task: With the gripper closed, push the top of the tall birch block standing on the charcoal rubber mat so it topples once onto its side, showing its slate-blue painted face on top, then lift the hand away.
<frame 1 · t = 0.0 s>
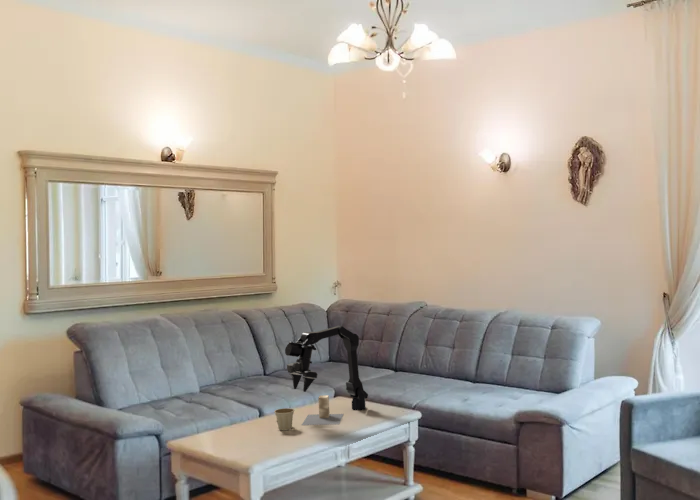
hand: (299, 390, 337), 15 cm above the table, tool pointing down, fingers open, 9 cm apart
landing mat: (323, 420, 339), on the table
flower pot: (285, 429, 326), on the table
birch block: (324, 416, 344), point 1 cm above the table, touching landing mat
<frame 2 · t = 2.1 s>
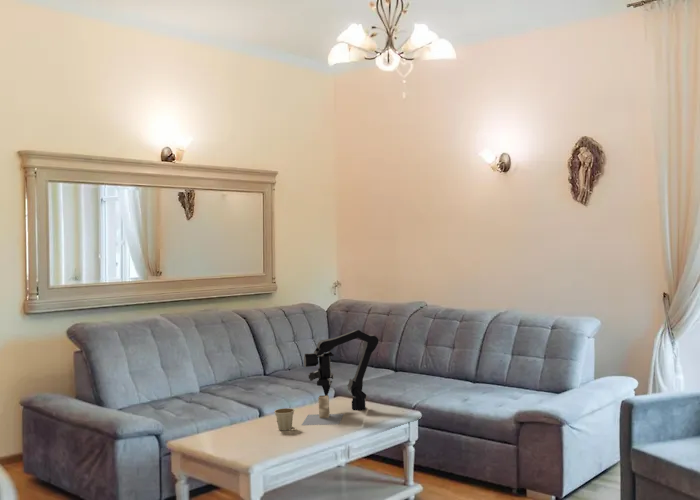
hand: (326, 396, 352), 9 cm above the table, tool pointing down, fingers closed
nothing on the table moved.
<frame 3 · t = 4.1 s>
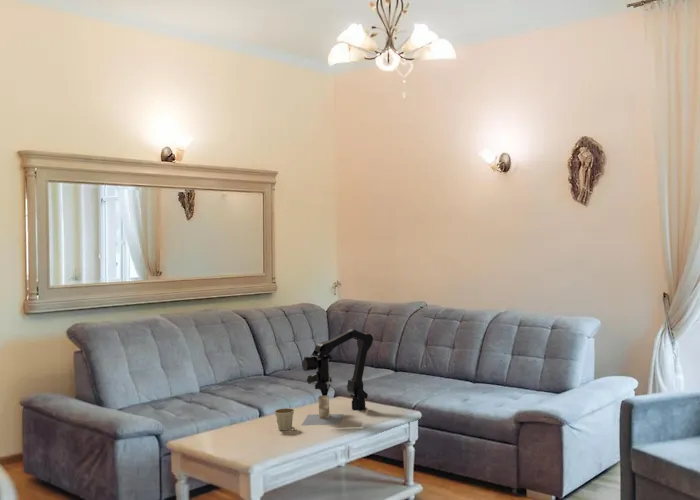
hand: (324, 399, 347), 8 cm above the table, tool pointing down, fingers closed
birch block: (324, 416, 344), point 1 cm above the table, touching gripper, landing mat
everything else where it was.
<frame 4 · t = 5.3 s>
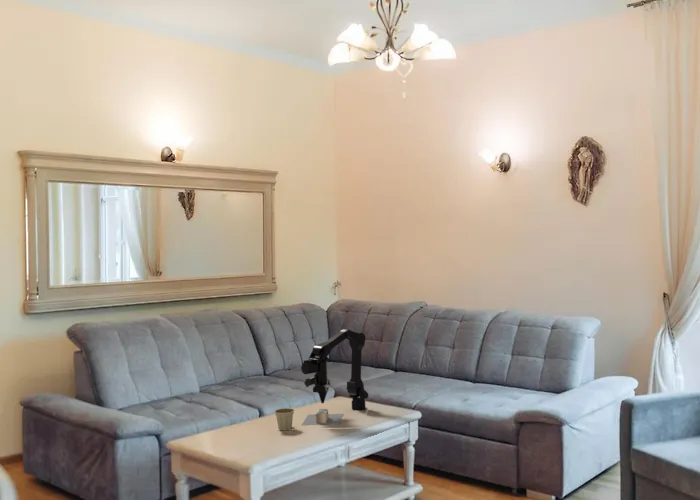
hand: (322, 403, 340), 8 cm above the table, tool pointing down, fingers closed
birch block: (323, 413, 341), point 3 cm above the table, tilted 90°, touching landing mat
everything else where it was.
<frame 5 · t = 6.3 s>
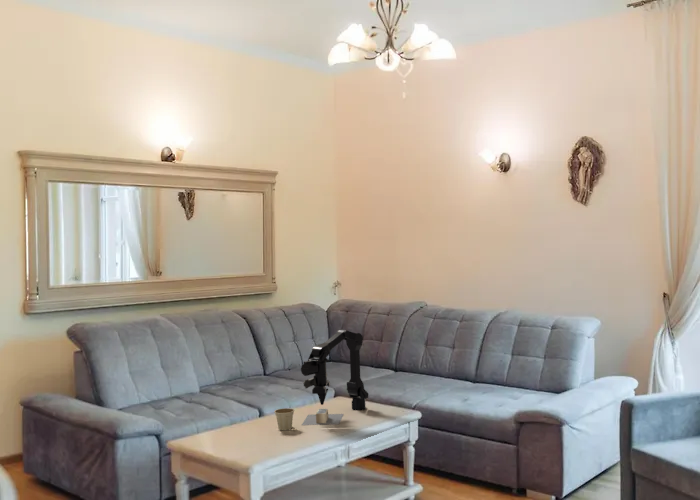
hand: (322, 404, 338), 8 cm above the table, tool pointing down, fingers closed
nothing on the table moved.
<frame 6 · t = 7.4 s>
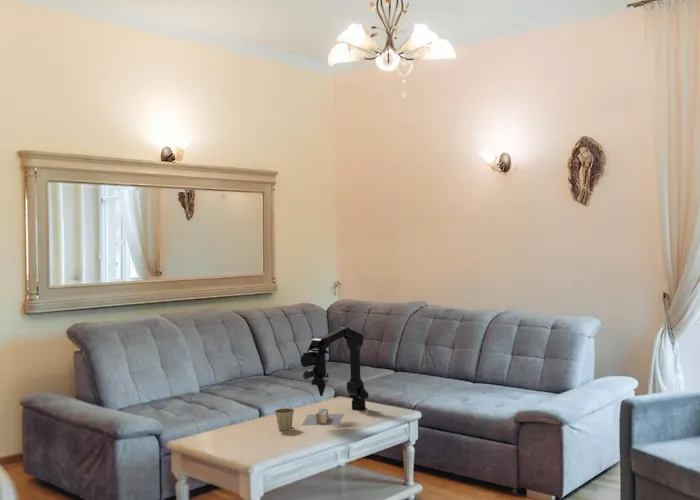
hand: (321, 395, 337), 12 cm above the table, tool pointing down, fingers closed
nothing on the table moved.
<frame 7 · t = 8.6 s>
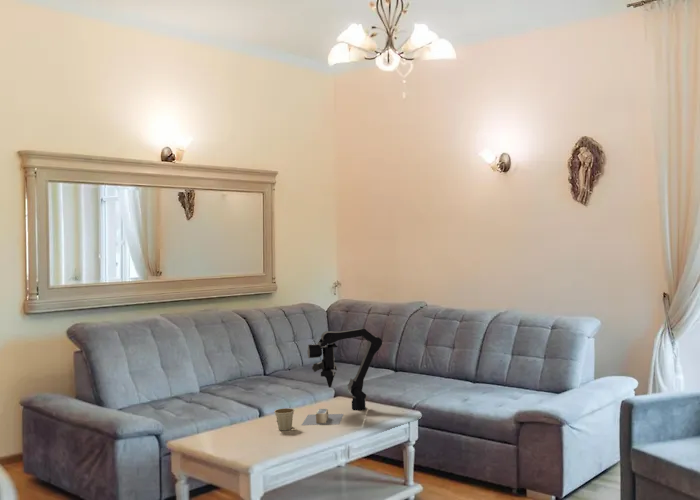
hand: (329, 387, 353), 13 cm above the table, tool pointing down, fingers closed
nothing on the table moved.
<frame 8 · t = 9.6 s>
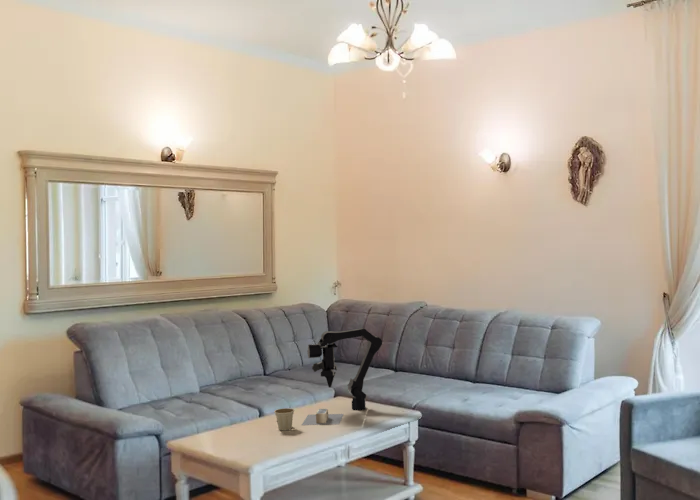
hand: (329, 387, 353), 13 cm above the table, tool pointing down, fingers closed
nothing on the table moved.
at the end: birch block tilted 90°; birch block inside the target area (4.7 cm from its centre), point 2.8 cm above the table; birch block touching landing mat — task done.
